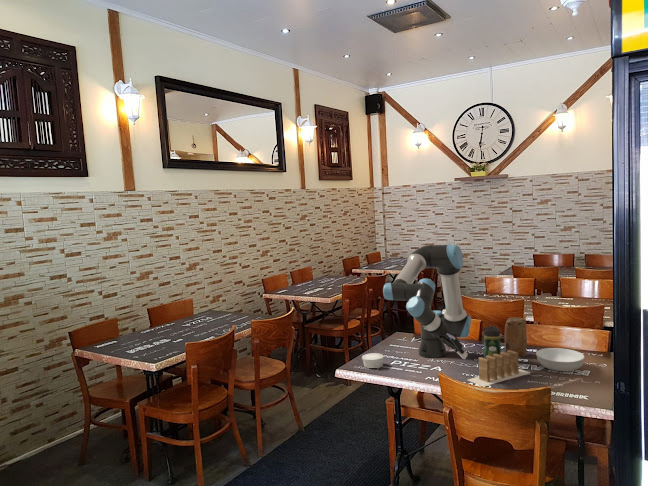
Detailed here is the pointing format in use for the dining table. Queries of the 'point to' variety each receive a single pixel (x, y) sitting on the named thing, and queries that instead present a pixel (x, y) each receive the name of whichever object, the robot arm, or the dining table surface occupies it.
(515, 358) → the domino
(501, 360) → the domino
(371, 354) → the ramekin
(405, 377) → the dining table surface
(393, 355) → the dining table surface
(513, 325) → the block
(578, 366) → the serving bowl
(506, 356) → the domino
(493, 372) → the domino
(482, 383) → the domino board
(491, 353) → the coffee jar
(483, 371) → the domino
